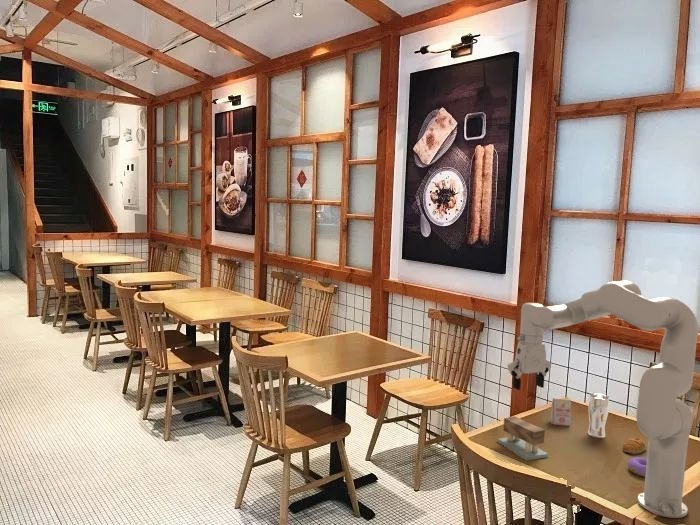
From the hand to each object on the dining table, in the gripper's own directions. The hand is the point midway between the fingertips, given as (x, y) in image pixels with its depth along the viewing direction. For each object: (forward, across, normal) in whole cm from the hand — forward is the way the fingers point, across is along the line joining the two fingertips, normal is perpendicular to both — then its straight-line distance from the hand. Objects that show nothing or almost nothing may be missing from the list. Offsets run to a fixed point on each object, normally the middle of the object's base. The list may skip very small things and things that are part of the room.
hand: (528, 387), depth 197 cm
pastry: (+23, +38, -11) cm, 46 cm away
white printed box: (+22, +30, +17) cm, 41 cm away
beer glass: (+23, +36, +4) cm, 42 cm away
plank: (+18, 0, +1) cm, 18 cm away
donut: (+23, +27, -25) cm, 44 cm away
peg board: (+22, -1, +1) cm, 22 cm away
